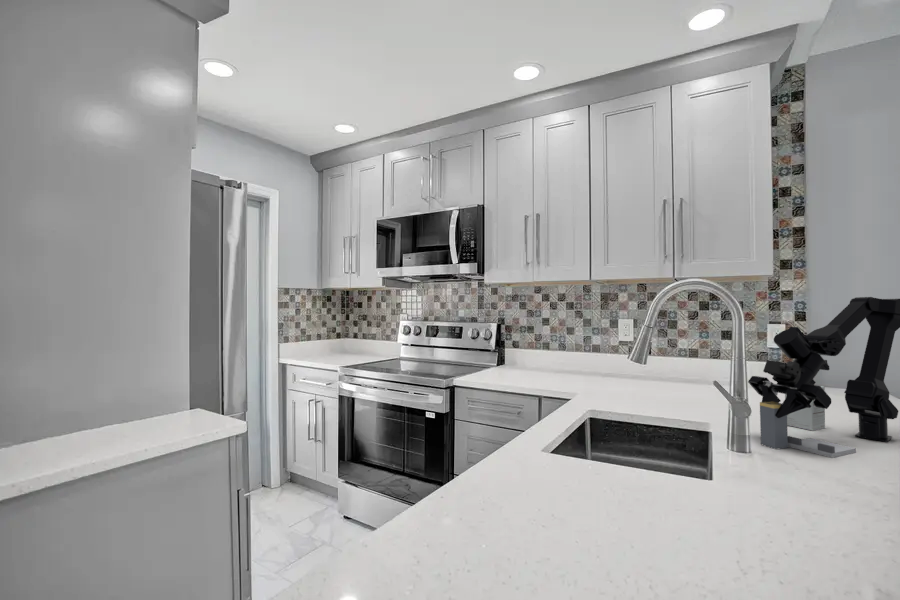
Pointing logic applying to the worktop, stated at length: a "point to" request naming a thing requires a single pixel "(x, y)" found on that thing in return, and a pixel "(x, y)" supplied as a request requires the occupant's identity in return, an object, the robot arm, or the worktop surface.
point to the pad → (820, 447)
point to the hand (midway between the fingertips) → (769, 414)
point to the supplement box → (808, 417)
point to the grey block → (773, 426)
